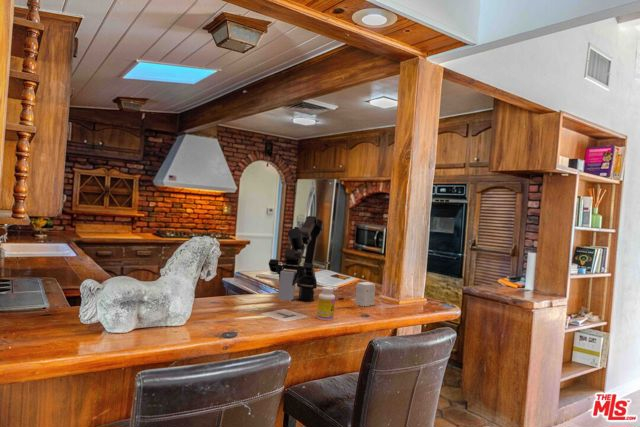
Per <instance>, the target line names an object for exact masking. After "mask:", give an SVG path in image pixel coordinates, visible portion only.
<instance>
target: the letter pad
mask: <svg viewBox="0 0 640 427" xmlns="http://www.w3.org/2000/svg"><path fill="white" fill-rule="evenodd" d="M260 314H261V315H263V316H266V317H269V318H272V319H275V320H278V321H280V322H284V323H286V322H291V321H295V320H301V319H305V318H309V317H310V316H308V315H306V314H303V313H300V312H295V311H292V310H290V309H289V310H288V309H285V308H282V309H278V310H272V311H267V312H261V313H260Z"/></svg>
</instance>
